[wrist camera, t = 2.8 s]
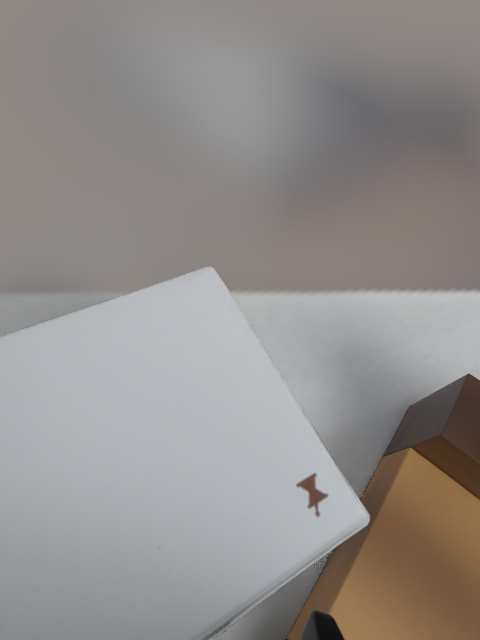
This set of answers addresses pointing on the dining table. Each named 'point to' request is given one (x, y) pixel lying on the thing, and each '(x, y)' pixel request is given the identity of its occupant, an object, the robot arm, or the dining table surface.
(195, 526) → the white packaging box
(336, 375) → the dining table surface
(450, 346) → the dining table surface
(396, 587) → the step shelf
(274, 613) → the dining table surface
